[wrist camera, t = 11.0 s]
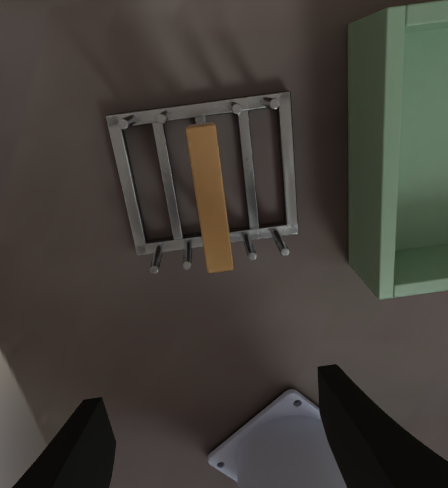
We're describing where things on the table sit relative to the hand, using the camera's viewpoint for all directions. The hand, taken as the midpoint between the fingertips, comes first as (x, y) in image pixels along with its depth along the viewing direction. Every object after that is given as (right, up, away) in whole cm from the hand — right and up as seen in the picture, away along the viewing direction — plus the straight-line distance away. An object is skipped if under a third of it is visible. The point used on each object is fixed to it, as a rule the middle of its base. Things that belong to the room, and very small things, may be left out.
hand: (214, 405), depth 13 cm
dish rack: (0, +9, +7) cm, 11 cm away
